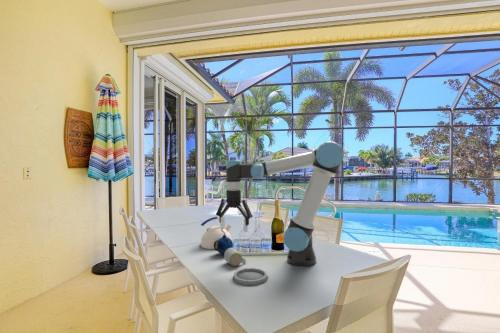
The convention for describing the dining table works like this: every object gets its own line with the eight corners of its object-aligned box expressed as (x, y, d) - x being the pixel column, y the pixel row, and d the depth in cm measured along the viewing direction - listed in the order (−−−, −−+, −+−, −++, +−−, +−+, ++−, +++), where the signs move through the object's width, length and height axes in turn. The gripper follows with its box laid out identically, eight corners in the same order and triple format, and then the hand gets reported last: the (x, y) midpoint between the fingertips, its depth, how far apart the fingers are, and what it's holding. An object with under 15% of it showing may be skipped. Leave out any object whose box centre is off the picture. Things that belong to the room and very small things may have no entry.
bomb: (212, 253, 162) (211, 227, 162) (229, 250, 167) (228, 225, 167) (218, 258, 154) (217, 231, 154) (235, 255, 159) (235, 228, 159)
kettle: (237, 246, 176) (237, 217, 175) (205, 251, 166) (205, 221, 166) (226, 238, 194) (225, 212, 193) (196, 242, 185) (196, 215, 184)
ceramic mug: (230, 268, 139) (230, 252, 139) (223, 263, 146) (223, 248, 146) (248, 264, 144) (248, 249, 144) (241, 259, 151) (241, 245, 151)
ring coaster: (273, 273, 131) (273, 270, 131) (260, 288, 116) (259, 284, 116) (242, 269, 138) (242, 265, 138) (226, 281, 123) (226, 277, 123)
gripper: (258, 189, 143) (258, 230, 143) (216, 188, 153) (217, 226, 154) (252, 191, 136) (252, 234, 136) (209, 189, 146) (209, 229, 147)
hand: (234, 230), depth 145 cm, fingers open, 13 cm apart
